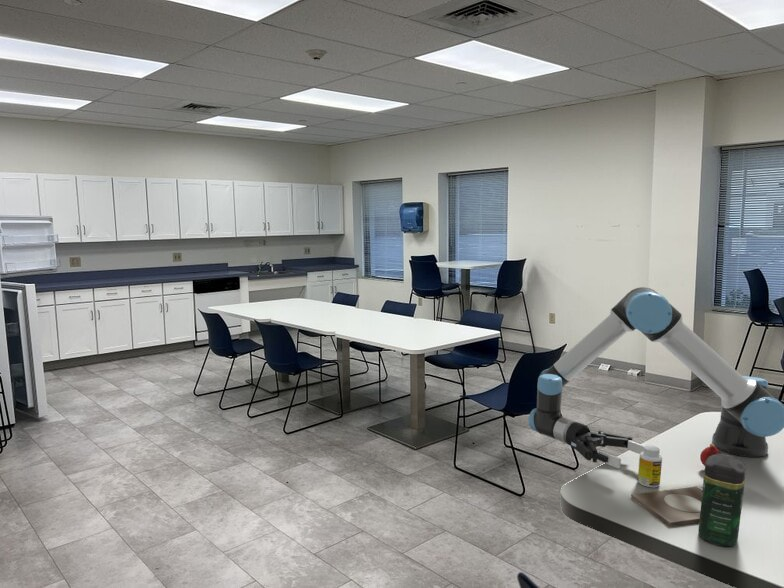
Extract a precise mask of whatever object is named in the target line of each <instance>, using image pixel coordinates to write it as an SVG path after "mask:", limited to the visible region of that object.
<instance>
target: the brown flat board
mask: <svg viewBox="0 0 784 588" xmlns="http://www.w3.org/2000/svg"><path fill="white" fill-rule="evenodd" d="M702 490H703V488H702V489H701V488H699V487H698V486H690V487H688V486H687V487H682V488H681V487H680V488H672V489H663V490H656V491H650V492H648V491H646V492H638V493H633V494H632V493H631V494H630V499H632V500H633V501H634V502H635V503H637V504H639V505H640V506H641V507H642V508H644V509H645V510H646V511H648V512H649V513H650V514H652V515H653V516H655V517H656V518H657V519H658V520H660V521H661V522H663V523H664V524H665V525H667V526H668V527H676V526H682V525H683V526H684V525H689V524H699V519H700V511H701V500H702Z"/></svg>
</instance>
